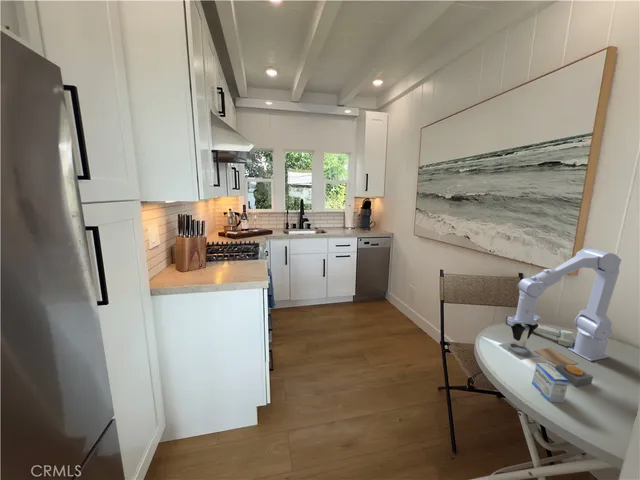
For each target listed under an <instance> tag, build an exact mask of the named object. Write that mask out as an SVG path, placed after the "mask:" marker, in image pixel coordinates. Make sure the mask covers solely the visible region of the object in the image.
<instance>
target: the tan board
mask: <svg viewBox="0 0 640 480" xmlns="http://www.w3.org/2000/svg"><path fill="white" fill-rule="evenodd" d="M533 352H535V353H536V354H538V355H540V357H542V358H543V359H545V360H547V361H549V362H551V363H552V364H554V365H555V366H559V365H564V364H568V363H571V364H573V365H574V366H575V365H578V364H579V362H577V361H574V360H573V359H571V358H569V357H567V356H566V355H564V354H563V353H561V352H559V351H557V350H555V349H554V348H552V347H548V348H547V347H546V348H542V349H537V350H533Z"/></svg>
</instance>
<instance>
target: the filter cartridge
mask: <svg viewBox="0 0 640 480" xmlns="http://www.w3.org/2000/svg"><path fill="white" fill-rule="evenodd" d="M521 325H522V326H523V327H525V328H526V329H525V330H524V331H523V333H522V335H521V338H520V340H519V341H517V340H516V339H514V338H513V342H514V343H515V344H516V345H518V346H522V347H525V346H526V347H527V341H528V339H527V337H528V332H529V329H530V327H529V326H527V325H525V324H521Z"/></svg>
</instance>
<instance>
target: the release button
mask: <svg viewBox="0 0 640 480" xmlns="http://www.w3.org/2000/svg"><path fill="white" fill-rule="evenodd" d="M565 368H566V370H567V371H569V372H570V373H572V374H574V375H575V376H579V375H583V373H584V372H583V371H584V370H583V369H581V368H579V367H578V366H576V365H574V366H573V365H566V367H565ZM582 370H583V371H582Z"/></svg>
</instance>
